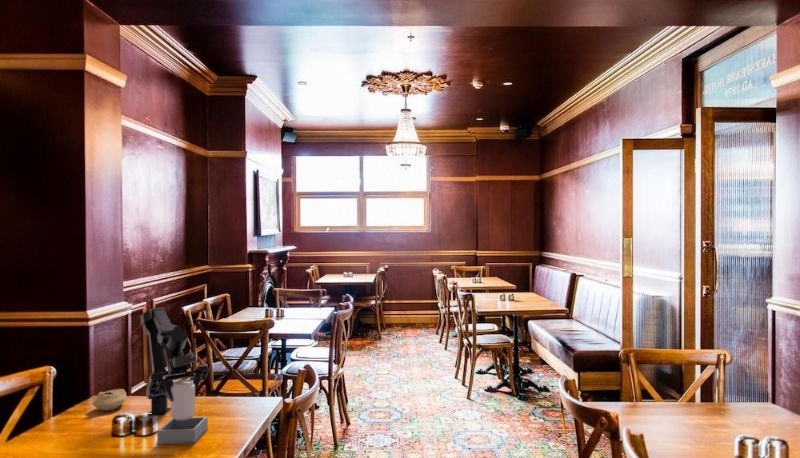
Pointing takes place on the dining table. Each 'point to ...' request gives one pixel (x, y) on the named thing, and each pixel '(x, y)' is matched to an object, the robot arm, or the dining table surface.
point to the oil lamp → (109, 399)
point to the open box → (182, 431)
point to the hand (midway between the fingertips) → (184, 398)
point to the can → (183, 400)
